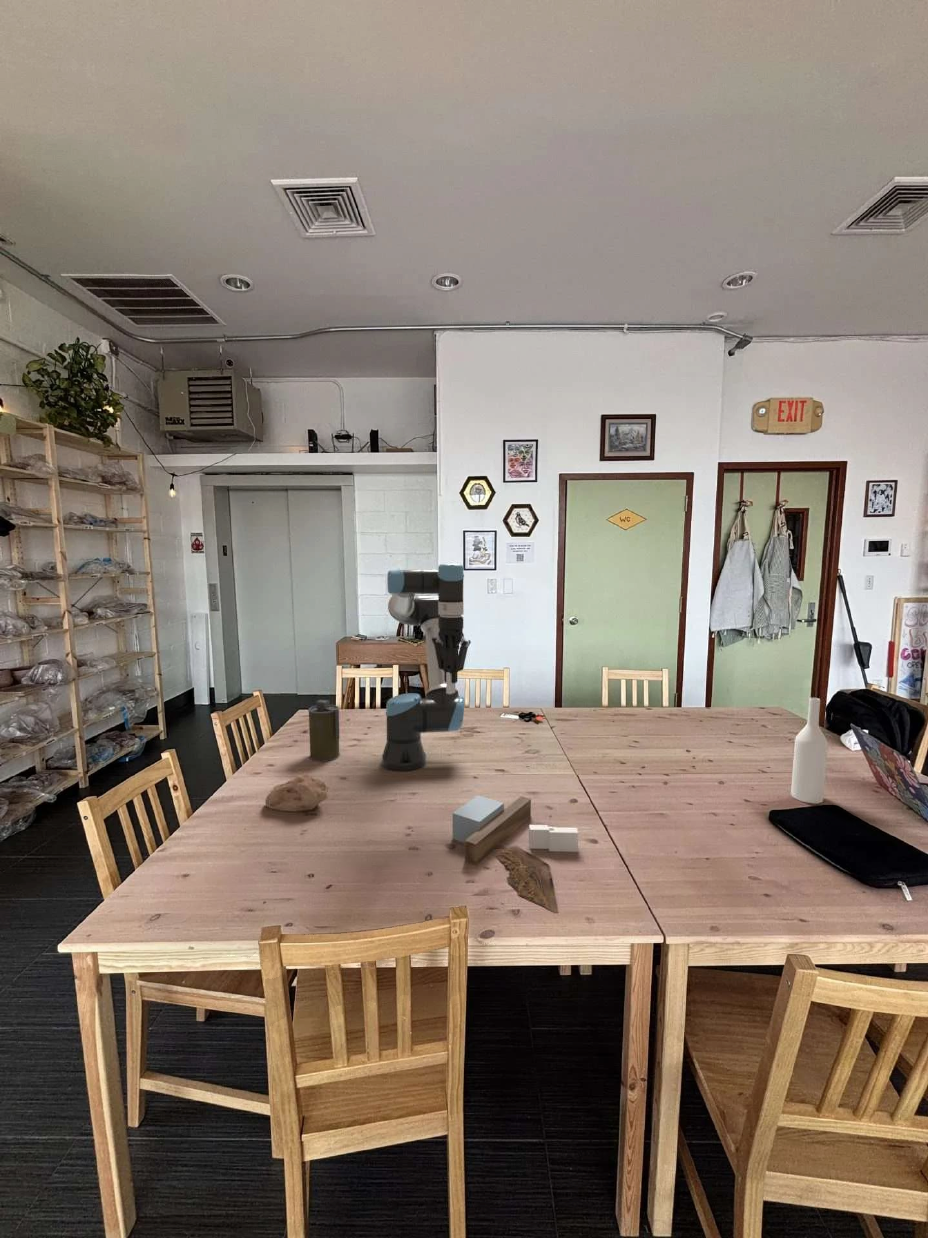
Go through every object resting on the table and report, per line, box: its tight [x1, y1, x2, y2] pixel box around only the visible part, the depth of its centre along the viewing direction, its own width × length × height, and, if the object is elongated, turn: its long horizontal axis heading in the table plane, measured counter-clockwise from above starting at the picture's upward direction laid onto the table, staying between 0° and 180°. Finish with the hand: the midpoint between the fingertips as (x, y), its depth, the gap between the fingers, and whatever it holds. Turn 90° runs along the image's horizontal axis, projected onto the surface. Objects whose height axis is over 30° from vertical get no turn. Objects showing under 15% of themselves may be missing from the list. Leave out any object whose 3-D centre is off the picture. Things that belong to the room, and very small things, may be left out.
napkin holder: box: [528, 824, 579, 853], centre depth 133 cm, size 15×11×6 cm
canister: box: [307, 699, 341, 762], centre depth 191 cm, size 11×10×20 cm
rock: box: [265, 773, 330, 812], centre depth 153 cm, size 18×10×10 cm, turn 90°
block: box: [452, 795, 505, 844], centre depth 139 cm, size 8×12×7 cm, turn 146°
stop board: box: [464, 795, 532, 865], centre depth 137 cm, size 3×28×5 cm, turn 146°
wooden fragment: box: [495, 844, 559, 914], centre depth 121 cm, size 26×11×1 cm, turn 12°
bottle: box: [790, 697, 829, 805], centre depth 158 cm, size 8×8×30 cm
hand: (450, 692), depth 164 cm, fingers closed
